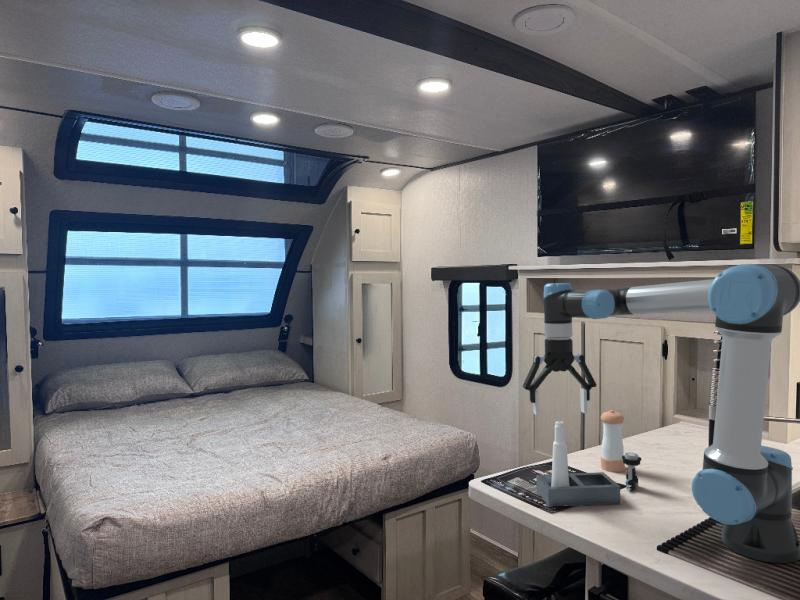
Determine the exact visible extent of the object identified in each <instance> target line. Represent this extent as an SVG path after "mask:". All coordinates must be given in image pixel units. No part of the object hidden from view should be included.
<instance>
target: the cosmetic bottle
mask: <svg viewBox="0 0 800 600" xmlns="http://www.w3.org/2000/svg"><path fill="white" fill-rule="evenodd" d="M564 424H565V422H563V421H561V420H557V421H555V425H554V441H553V443H552V444H553V445H552V463H551V464H552V467H551V474H552V482H551V487H568V486H570V485H569V475H568V474H569V463H568V462H569V461H568V460H569V459H568V449H567V448H568V447H567V446H568V445H567V442H566V436H565V435H566V428H565V427H566V426H565V425H564Z"/></svg>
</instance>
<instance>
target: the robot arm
mask: <svg viewBox="0 0 800 600" xmlns="http://www.w3.org/2000/svg"><path fill="white" fill-rule="evenodd" d="M542 300H543V314H544V320H543V321H544V323H543V324H544V327H543V328H544V337H545V339H544V356H540V355H539V356H538V355H534V356H533V359H532V364H531V366H530V369H529V371H528V373H527V376H526V377H525V380H524V382H523V384H522V388H523V389H525V390H526V391H529V401H530V403H531V404H532V407H533V409H532V410H533V411H532V412H533V414H534V415H535V416H539V415H540V411H539V409H540V405H539V404H540V402H539V401H540V400H539V399H540V398H539V391H537V390H538V388H539V387H540V386H541V384H542V383H543V382H544V381H545V379H546V378H547V377H548V375H550V374H551V373H552V372H555V373H556V372H557V373H558V372H566V371H568V372H569V373H570V374H571V375H572V377H574V379H576V382H578V383H579V384H580V385H581V387H582V388H580V389H579V391H580V396H579V397H580V412H581V413H583V414H588V401H590V400H591V395H590V394H591V392H590V391H591V390H592V388H596V387H597V382H596V381H595V378H594V377H593V374H592V373H591V371H590V369H589V368H588V365H587V363H586V360H585V355H584V354H581V353H578V354H575V355H574V353H573V352H574V349H573V346H574V345H573V339H572V337H573V318H579V319H581V318H582V319H592V320H602V319H607V318H609V317H614V316H615V317H616V316H633V315H649V314H650V315H651V314H672V313H673V314H674V313H676V314H677V313H694V312H696V313H698V312H713V313H714V315H715V321H714V322H715V324H714V327H715V329H716V330H717V331H718V332H719V334H721V337H722V339H721V351H720V358H719V359H720V361H719V372H718V384H717V395H716V407H715V417H714V429H713V438H712V439H713V440H712V444H711V445H709V446H708V447H706V448H705V449H704V450H703V460H702V461H703V462H702V469H701V470H700V471H698V472H696V474H695V476H694V477H693V479H692V483H691V491H692V496H693V499H694V500H695V502H696V504H697V506H699V507H700V508H701V509H702V510H701V511H703V513H704V514H706V515H707V516H708V517H710V518H711V519H713V520H714V521H716V522H718V523H720V524H724V525H723V526H722V529H721V541H722V542H723V544H724V545H725V546H726V548H728V549H730V550H731V551H733V552H734V553H737V554H739V555H741V556H744V557H747V558H749V559H752V560H755V561H759V562H760V561H761V562H766V563H773V564H789V563H795V562H797V561H798V560H800V539H799V536H798V533H797V530H796V527H795V525H794V522H793V519H792V518H793V516H792V512H793V511H792V510H793V509H792V508H793V507H792V505H793V504H792V503H793V502H792V501H793V500H792V499H793V498H792V497H793V496H792V495H793V494H792V492H793V490H792V489H793V488H792V487H793V486H792V485H793V469H794V468H793V466H792V458H791V455H790V454H789V453H788V452H786V451H783V450H782V449H779V448H775V447H772V446H765V445H762V439H763V429H764V419H765V408H766V400H767V399H766V398H767V387H768V379H769V368H770V358H771V348H772V347H771V346H772V341H773V340H774V339H775V338H777V337H778V336H780V335H781V334H782V330H783V321H784V316H786V315H787V314H789V313H791V312H793V310H795V309H796V308H797V307H798V306H799V303H800V279H799V277H798V276H797V274H796V273H794V271H792V270H791V269H789V268H788V267H785V266H783V265H779V264H773V263H770V264H769V263H767V264H756V263H755V264H754V263H748V264H746V263H745V264H743V263H742V264H738V265H735V266H731V267H728V268H726V269H724V270H723V271H721V272H720V273H718V274H717V275H716V276H715V277H714V278H713V279H712V278H711V279H703V280H691V281H682V282H671V283H660V284H650V285H649V284H648V285H640V286H628V287H627V286H626V287H616V288H604V289H603V288H601V289H600V288H599V289H598V288H597V289H573V288H572V284H571V283H570V282H560V283H559V282H558V283H557V282H555V283H546V284H544V286H543V298H542ZM543 362H544V363H545V365H544V367H543V368H542V370H541V372H540V373H539V374H538V375H537V377H536V378H535V376H536V374H537V373H538V371H539V368H540V365H542V364H543ZM574 362H576V363H578V366H579V368H580V370H581V372H582V374H583V375H584V377H585V378H583V377H582V376H581V374H579V372H578V371H577V370H576V369H575V367H574V366H573V365H572V364H573V363H574ZM585 379H586V380H585Z"/></svg>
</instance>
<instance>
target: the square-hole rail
mask: <svg viewBox="0 0 800 600" xmlns="http://www.w3.org/2000/svg"><path fill="white" fill-rule="evenodd" d="M568 475H569V485H570V486H568V487H551V482H552V473H550V474H536V477H535V478H536V493H537V492H538V493H539V494H538V493H537V494H538V496H541V497H542V498H541V497H540V498H541V499H542V500H544V501H545V502H546V503H545V502H544V501H543V502H544V503H545V505H546V504H547V505H548V506H547V505H546V506H547V507H548V508H554V507H553V506H562V505H570V506H572V507H592V506H593V507H594V506H614V505H615V506H616V505H621V485H619V484H618V483H617V482H616V481H615V480H613V479H612V478H611V477H610V476H609V475H608V474H606V473H605V472H604V471H603V472H601V471H600V472H598V471H597V472H577V473H576V472H575V473H574V472H573V473H568Z"/></svg>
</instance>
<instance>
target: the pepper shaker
mask: <svg viewBox="0 0 800 600" xmlns="http://www.w3.org/2000/svg"><path fill="white" fill-rule="evenodd" d="M600 419H601V422H602V424H603V431H602V432H603V436H602V441H601V455H600V468H601V469H602V470H603V471H606V472H611V473H621V472H624V471H625V470H626V468H625V467H626V466H625V465H626V464H624V463H623V459H622V456H623V455H624V443H623V437H622V424H623V422H624V421H625V417H624V416H623V414H622V413H621V412H617V411H615V410H614V409H610V410H609V411H605V412H602V414H601V416H600Z"/></svg>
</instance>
